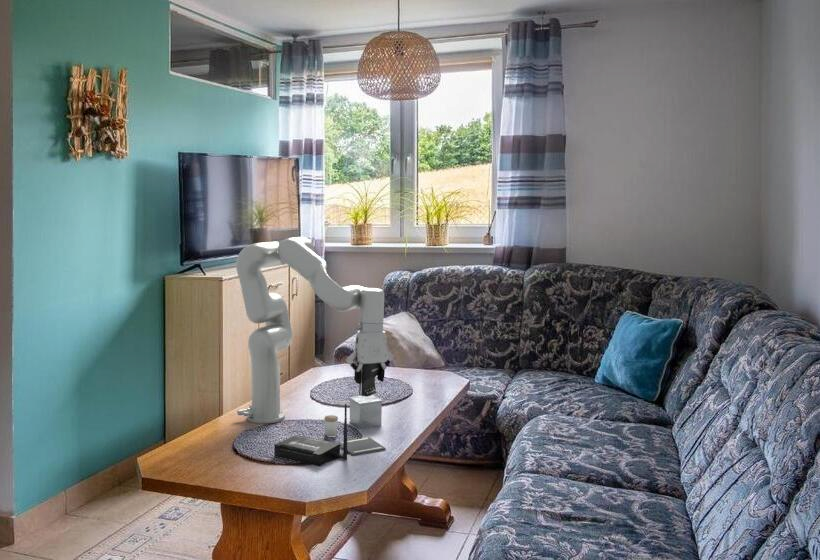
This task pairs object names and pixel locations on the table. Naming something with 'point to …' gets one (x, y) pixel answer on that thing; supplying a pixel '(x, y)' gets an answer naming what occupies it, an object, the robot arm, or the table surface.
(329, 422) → the white cylinder
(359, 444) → the mat
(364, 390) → the battery charger
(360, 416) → the wall box
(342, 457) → the black router
